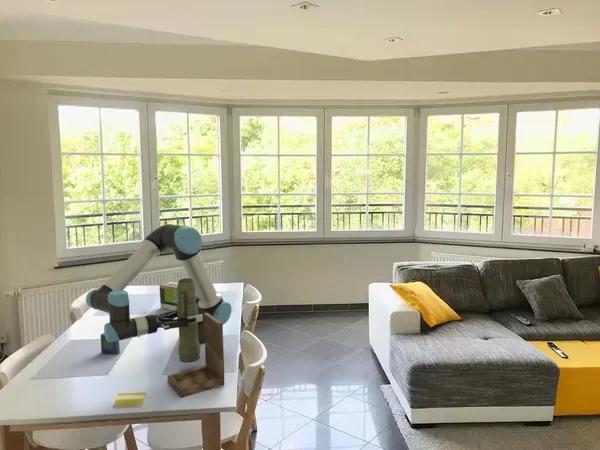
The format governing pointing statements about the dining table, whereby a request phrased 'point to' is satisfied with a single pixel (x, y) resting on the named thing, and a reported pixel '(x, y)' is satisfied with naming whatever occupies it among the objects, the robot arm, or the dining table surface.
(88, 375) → the dining table surface
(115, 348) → the flask
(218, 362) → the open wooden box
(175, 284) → the tea box
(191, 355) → the thermos
